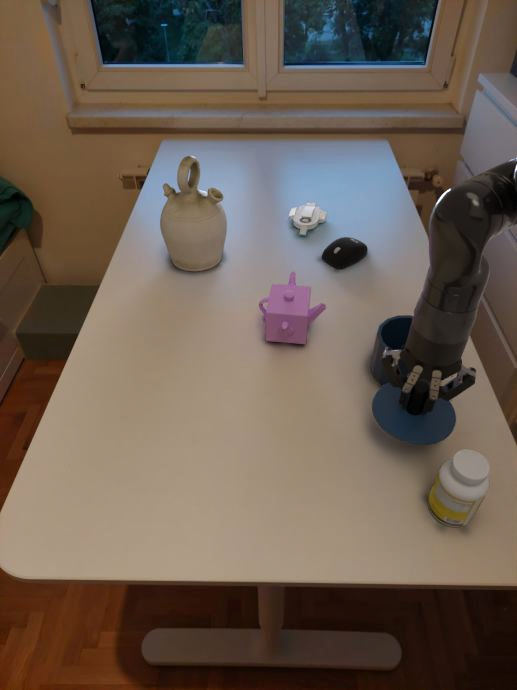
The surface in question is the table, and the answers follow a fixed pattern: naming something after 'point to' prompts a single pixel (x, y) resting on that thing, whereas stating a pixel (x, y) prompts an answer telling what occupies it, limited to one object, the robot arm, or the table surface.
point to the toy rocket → (307, 217)
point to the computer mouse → (344, 252)
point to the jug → (193, 221)
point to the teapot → (289, 312)
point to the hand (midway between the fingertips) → (414, 406)
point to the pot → (390, 345)
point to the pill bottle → (459, 488)
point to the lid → (413, 415)
